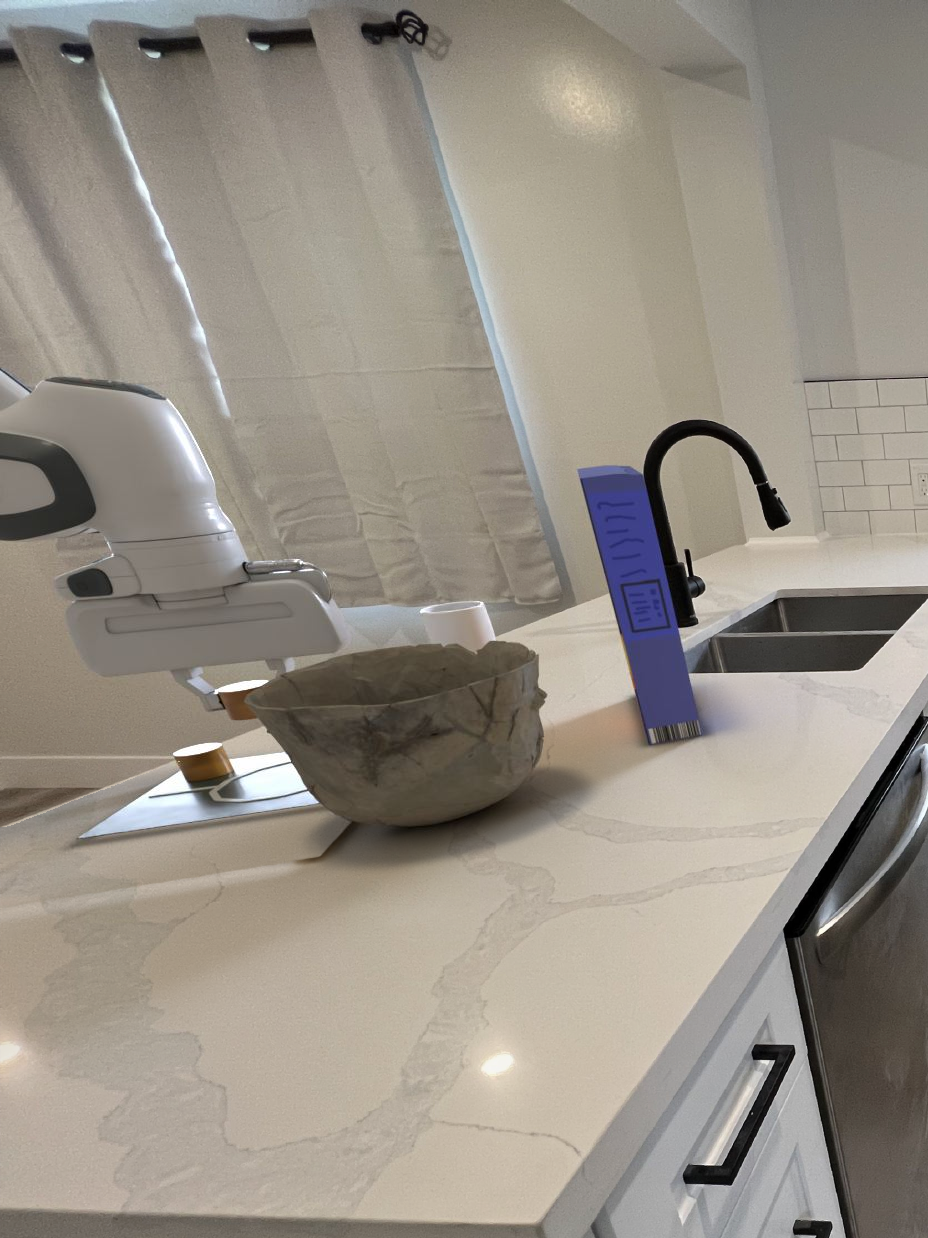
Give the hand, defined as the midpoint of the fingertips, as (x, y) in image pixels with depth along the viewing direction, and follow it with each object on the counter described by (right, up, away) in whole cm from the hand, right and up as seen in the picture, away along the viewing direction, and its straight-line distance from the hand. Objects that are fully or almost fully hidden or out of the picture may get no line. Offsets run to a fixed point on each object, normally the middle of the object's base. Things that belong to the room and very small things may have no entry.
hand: (251, 705), depth 87 cm
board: (-5, -9, +6) cm, 11 cm away
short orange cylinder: (-12, -7, +8) cm, 16 cm away
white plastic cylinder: (+8, 0, +24) cm, 25 cm away
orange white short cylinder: (0, -1, 0) cm, 1 cm away
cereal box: (+31, +1, +24) cm, 39 cm away
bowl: (+22, -11, -2) cm, 24 cm away
